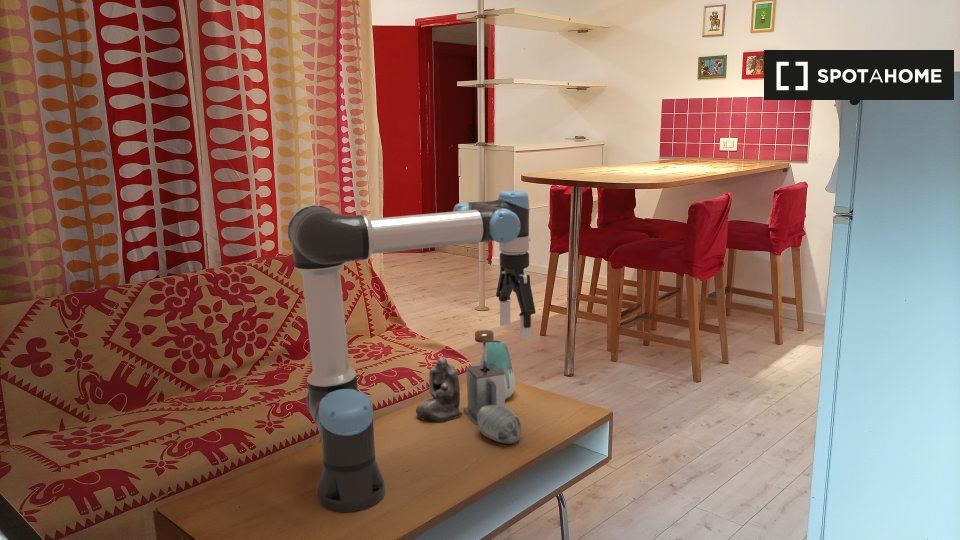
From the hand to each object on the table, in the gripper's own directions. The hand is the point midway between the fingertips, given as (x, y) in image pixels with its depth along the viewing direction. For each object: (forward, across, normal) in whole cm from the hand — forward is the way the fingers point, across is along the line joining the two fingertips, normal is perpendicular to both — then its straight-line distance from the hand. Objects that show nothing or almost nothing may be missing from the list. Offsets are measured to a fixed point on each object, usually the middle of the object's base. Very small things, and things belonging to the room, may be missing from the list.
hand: (515, 331), depth 188 cm
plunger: (+16, +13, +4) cm, 22 cm away
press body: (+28, +13, +4) cm, 31 cm away
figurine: (+28, +18, +16) cm, 37 cm away
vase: (+28, +25, -4) cm, 38 cm away
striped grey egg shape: (+28, -1, +6) cm, 29 cm away
